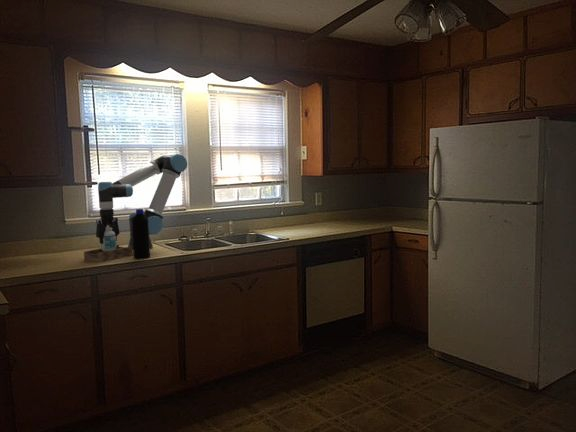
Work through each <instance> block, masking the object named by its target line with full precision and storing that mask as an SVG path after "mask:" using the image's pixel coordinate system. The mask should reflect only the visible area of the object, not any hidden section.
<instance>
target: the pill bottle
mask: <svg viewBox="0 0 576 432" xmlns="http://www.w3.org/2000/svg"><path fill="white" fill-rule="evenodd" d="M103 238H105V249H102V251H104V252H106V251H111V250H115V249H116V245H117V243H116V244H115V232H113V231H112V227H109V226H107V227H106V229H105V233H104V237H103Z"/></svg>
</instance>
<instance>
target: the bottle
mask: <svg viewBox="0 0 576 432" xmlns="http://www.w3.org/2000/svg"><path fill="white" fill-rule="evenodd" d="M144 212H145V210H144V209H143V208H137V209H135V213H137V214H136V216H135V217H134V218H133V219H132V228H133V247H134V250H133V258H134V259H136V260H142V259H143V260H144V259H149V258H150V257H151V252H150V251H151V250H150V247H149V236H150V235H149V227H148V218H147V217H146V216H145V215H144V214H143V213H144Z"/></svg>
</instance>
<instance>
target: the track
mask: <svg viewBox="0 0 576 432" xmlns="http://www.w3.org/2000/svg"><path fill="white" fill-rule="evenodd" d="M116 245H117V247H116V249H115V250H111V251H106V252H104V251H102V249H101V247H100V248H96V249H90V250H86V251H83V259H84V261H88V262H96V263H103V261H104V262H108V261H111V260H116V259H121V258H124V257H130V256H134V250H133V246H130V247H128V246H126V247H125V246H120V245H119V244H116Z"/></svg>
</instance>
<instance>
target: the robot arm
mask: <svg viewBox="0 0 576 432" xmlns="http://www.w3.org/2000/svg"><path fill="white" fill-rule="evenodd" d="M187 168H188V160H187V157H186V156H185V155H184V154H182V153H178V152H173V153H171V152H170V153H164V154H161V155H159V156H158V157H155V158H154V159H152V160H151V161H150V162H149V163H148V164H146V165H144V166H143V167H141V168H139V169H137V170H135V171H133V172H131V173H130V174H127V175H126V176H124V177H122V178H119V179H118V180H116V181H114V182H113V183H112V181H101V182H98V183H97V191H98V192H97V193H98V203H99V204H98V206H99V207H98V208H99V216H100V219H96V220H95V222H96V228H95V229H96V234H95V235H96V236H95V237H96V238H98V239H99V244H100V248H101V249H105V238H103V237H104V233H105V229H106V227H112V231H113V232H115V244H116V247H117V245H118V244H117V241H118V238H117V237H118V236H119V235H120V229H119V223H118V222H119V221H118V220H119V218H118V217H114V214H115V212H114V211H115V210H114V199H116V198H130V197H133V194H134V187H135V186H136V185H139V184H140V183H142V182H145V180H148V179H150V178H151V177H153V176H155V175H160V174H162V175H161V178H160V180H159V183H158V185H157V188H156V190H155V191H154V195H153V197H152V200H151V202H150V204H149V207H148V208H147V209H145V210H144V213H143V214H144V215H145V216H146V217H147V218H148V227H149V247H150V249H151V250H152V249H153V247H154V246H153V244H154V243H152V239H151V237H150V235H151V236H153V235H154V236H155V235H158V234H159V233H160V232H162V229H163V228H164V223H163V219H164V216H163V215H164V214H163V211H164V210H165V207H166V204H167V202H168V199H169V197H170V194H171V192H172V190H173V187H174V185H175V181H176V180H177V179H178V178H180V176H181V174H182V173H183V172H184V171H186V170H187ZM136 214H137V213H136V212H134V213H133V212H132V213H130V214H129V217H128V221H129V223H128V224H129V241H128V244H127V247H130V246H133V228H132V219H133V218H134V217H135V216H136ZM133 251H134V247H133Z"/></svg>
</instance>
